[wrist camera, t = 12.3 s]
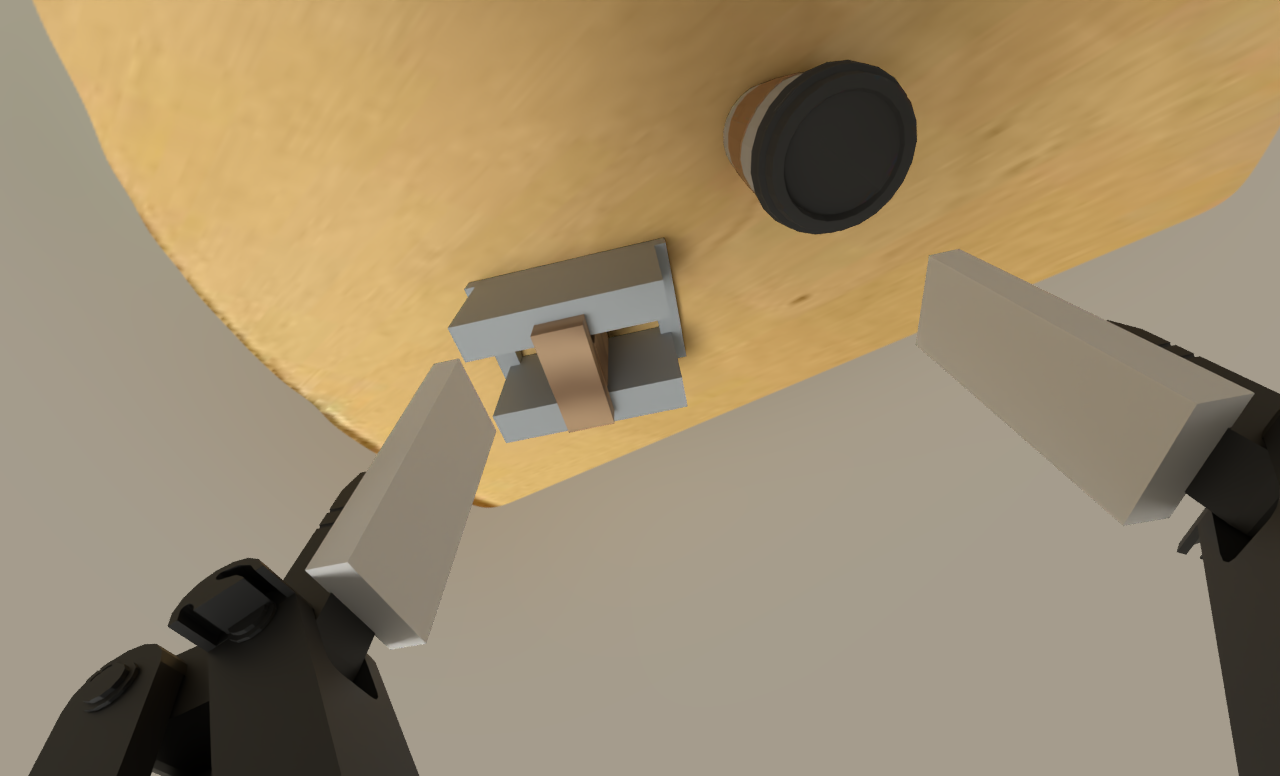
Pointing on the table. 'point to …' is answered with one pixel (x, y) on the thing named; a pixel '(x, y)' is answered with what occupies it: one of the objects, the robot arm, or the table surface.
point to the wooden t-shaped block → (576, 371)
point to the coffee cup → (823, 144)
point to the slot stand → (609, 299)
